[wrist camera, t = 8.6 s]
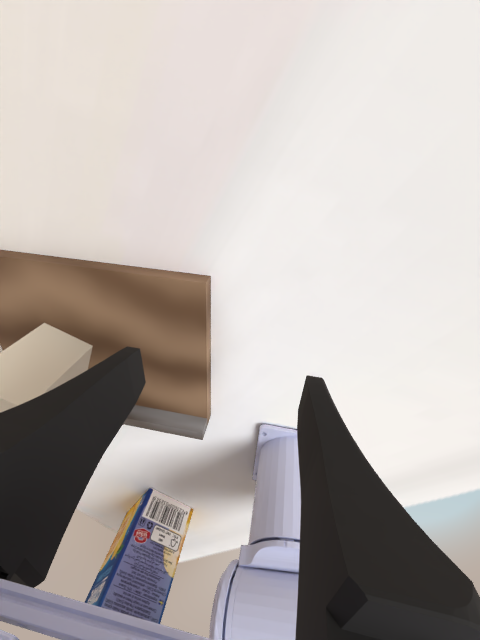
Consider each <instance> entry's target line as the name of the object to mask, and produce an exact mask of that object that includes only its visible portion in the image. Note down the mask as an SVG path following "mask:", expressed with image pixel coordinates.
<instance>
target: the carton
mask: <svg viewBox="0 0 480 640" xmlns="http://www.w3.org/2000/svg"><path fill="white" fill-rule="evenodd" d="M92 347H93V346H92V345H90V344H88V343H86V342H84V341H82V340H79V339H77V338H75V337H73V336H71V335H69V334H67V333H65V332H63V331H61V330H59V329H56V328H54V327H52V326H50V325H48V324H46V323H43V324H42V325H40V326H39V327H37V328H36V329H34V330H33V331H31V332H30V333H29V334H27V335H26V336H24V337H23V338H21V339H20V340H18V341H17V342H15V343H14V344H12V345H11V346H9V347H8V348H6V349H5V350H4V351H2V352H1V353H0V413H1V412H3V411H6V410H8V409H11V408H13V407H16V406H18V405H20V404H23V403H25V402H27V401H29V400H32V399H34V398H36V397H38V396H40V395H42V394H44V393H46V392H48V391H50V390H52V389H54V388H56V387H58V386H60V385H62V384H63V383H65V382H67V381H69V380H71V379H72V378H74V377H76V376H78V375H80V374H81V373H83V372H85V371H87V370H88V366H89V361H90V357H91V352H92Z"/></svg>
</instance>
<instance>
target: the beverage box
mask: <svg viewBox="0 0 480 640" xmlns="http://www.w3.org/2000/svg"><path fill="white" fill-rule="evenodd" d="M192 512H193V508H191V507H189V506H187V505H185V504H183V503H181V502H179V501H177V500H175V499H173V498H171V497H168V496H166V495H164V494H162V493H160V492H158V491H156V490H154V489H152V488H149V489H148V490H147V492H146V493H145V494H144V495H143V496H142V497H141V498H140V499H139V500H138V501H137V502H136V504H135V505H134V506H133V507H132V508H131V509H130V510H129V511H128V512H127V514H126V516H125V518H124V520H123V522H122V524H121V526H120V529H119V531H118V533H117V535H116V537H115V539H114V541H113V543H112V546H111V548H110V550H109V552H108V554H107V556H106V558H105V560H104V563H103V565H102V567H101V569H100V571H99V573H98V575H97V577H96V579H95V582H94V584H93V586H92V588H91V590H90V592H89V594H88V596H87V598H86V601H85V603H88V604H91V605H95V606H98V607H101V608H105V609H108V610H112V611H115V612H119V613H122V614H126V615H129V616H133V617H136V618H140V619H143V620H147V621H150V622H154V623H157V624H160V622H161V618H162V615H163V612H164V608H165V605H166V601H167V598H168V594H169V591H170V588H171V584H172V581H173V577H174V574H175V571H176V567H177V564H178V560H179V557H180V553H181V550H182V547H183V543H184V540H185V536H186V533H187V530H188V526H189V523H190V519H191V516H192Z"/></svg>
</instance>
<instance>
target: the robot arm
mask: <svg viewBox="0 0 480 640" xmlns="http://www.w3.org/2000/svg"><path fill="white" fill-rule="evenodd" d="M145 383H146V381H145V375H144V369H143V363H142V357H141V351H140V348H134V347H128V346H127V347H125V348H123V349H121V350H120V351H118V352H116V353H115V354H113V355H111V356H110V357H108V358H106V359H105V360H103V361H102V362H100V363H98V364H97V365H95V366H93V367H92V368H90V369H88V370H87V371H85V372H83V373H81V374H80V375H78V376H76V377H74V378H72V379H71V380H69V381H67V382H65V383H63V384H62V385H60V386H58V387H56V388H54V389H52V390H50V391H48V392H46V393H44V394H42V395H40V396H38V397H36V398H34V399H32V400H29V401H27V402H25V403H23V404H20V405H18V406H16V407H13V408H11V409H8V410H6V411H3V412H1V413H0V621H3V622H6V623H9V624H12V625H16V626H19V627H22V628H26V629H29V630H32V631H35V632H38V633H42V634H45V635H48V636H51V637H55V638H58V639H61V640H480V597H479V595H478V593H477V591H476V589H475V587H474V585H473V583H472V581H470V579H469V578H468V577H467V576H466V575H465V574H464V573H463V572H462V571H461V570H460V569H459V568H458V567H457V566H456V565H455V564H454V563H453V562H452V561H451V560H450V559H449V558H448V557H447V556H446V555H445V554H444V553H443V552H442V551H441V550H440V549H439V548H438V547H437V545H436V544H435V543H434V542H433V541H432V540H431V539H430V538H429V537H428V536H427V535H426V534H425V532H424V531H423V530H422V529H421V528H420V527H419V526H418V525H417V523H416V522H415V521H414V520H413V519H412V518H411V516H410V515H409V514H408V513H407V512H406V510H405V509H404V508H403V507H402V505H401V504H400V503H399V502H398V501H397V499H396V498H395V497H394V496H393V495H392V493H391V492H390V491H389V490H388V488H387V487H386V486H385V484H384V483H383V482H382V480H381V479H380V478H379V476H378V475H377V474H376V472H375V471H374V469H373V468H372V467H371V465H370V464H369V462H368V461H367V459H366V458H365V456H364V455H363V453H362V452H361V450H360V449H359V447H358V446H357V444H356V442H355V441H354V439H353V437H352V436H351V434H350V432H349V431H348V429H347V427H346V425H345V423H344V422H343V420H342V418H341V416H340V414H339V412H338V410H337V408H336V406H335V404H334V402H333V400H332V398H331V396H330V394H329V391H328V389H327V387H326V384H325V382H324V380H323V379H322V378H319V377H313V376H306V380H305V384H304V388H303V392H302V397H301V401H300V405H299V409H298V425H297V430H293V429H288V428H282V427H277V426H272V425H266V424H263V425H261V426H260V429H259V436H258V443H257V450H256V457H255V463H254V470H253V477H252V478H253V480H255V481H256V489H255V497H254V505H253V512H252V520H251V528H250V536H249V544H248V545H241V550H240V557H239V560H237V559H236V560H233V561H232V562H231V563H230V564H229V565H228V567H227V569H226V570H225V571H224V573H223V574H222V576H221V578H220V581H219V583H218V586H217V590H216V594H215V598H214V603H213V608H212V615H211V623H210V638H206V637H202V636H199V635H196V634H192V633H189V632H185V631H182V630H178V629H175V628H171V627H168V626H164V625H161V624H157V623H154V622H150V621H147V620H143V619H140V618H136V617H133V616H129V615H126V614H122V613H119V612H115V611H112V610H108V609H105V608H101V607H98V606H95V605H91V604H88V603H84V602H80V601H77V600H74V599H70V598H67V597H63V596H60V595H56V594H53V593H49V592H45V591H42V590H39V589H35V588H34V587H36V586H37V585H39V584H40V583H41V582H43V581H44V580H45V578H46V575H47V573H48V570H49V568H50V566H51V563H52V561H53V559H54V556H55V554H56V552H57V549H58V547H59V544H60V542H61V539H62V537H63V535H64V533H65V531H66V528H67V526H68V524H69V522H70V520H71V517H72V515H73V513H74V511H75V509H76V507H77V505H78V503H79V501H80V499H81V496H82V494H83V492H84V490H85V488H86V486H87V484H88V482H89V480H90V478H91V476H92V475H93V473H94V471H95V469H96V467H97V465H98V463H99V461H100V459H101V458H102V456H103V454H104V453H105V451H106V449H107V448H108V446H109V445H110V443H111V441H112V440H113V438H114V437H115V435H116V434H117V432H118V431H119V429H120V428H121V426H122V425H123V423H124V422H125V420H126V418H127V417H128V415H129V414H130V412H131V411H132V409H133V407H134V406H135V404H136V402H137V400H138V398H139V396H140V394H141V392H142V390H143V388H144V386H145ZM0 640H19V639H18V638H17V637H16V636H15V635H13V634H10V633H7V632H5V631H3V630H0Z"/></svg>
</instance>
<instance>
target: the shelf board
mask: <svg viewBox="0 0 480 640" xmlns="http://www.w3.org/2000/svg"><path fill="white" fill-rule="evenodd" d="M43 323H46V324H48V325H50V326H52V327H54V328H56V329H59V330H61V331H63V332H65V333H67V334H69V335H71V336H73V337H75V338H77V339H79V340H82V341H84V342H86V343H88V344H90V345H92V346H93V347H92V352H91V357H90V361H89V366H88V369H90V368H92V367H93V366H95V365H97V364H98V363H100V362H102V361H103V360H105V359H106V358H108V357H110V356H111V355H113V354H115V353H116V352H118V351H120V350H121V349H123V348H125V347H127V346H128V347H134V348H140V351H141V357H142V363H143V369H144V375H145V381H146V383H145V386H144V388H143V390H142V392H141V394H140V396H139V398H138V400H137V402H136V404H135V406H134V407H133V409H132V411H131V412H130V414H129V415H128V417H127V418H126V420H125V422H124V423H123V424H125V425H130V426H135V427H140V428H145V429H150V430H155V431H160V432H165V433H170V434H175V435H180V436H185V437H190V438H195V439H200V440H203V437H204V434H205V431H206V428H207V425H208V422H209V419H210V416H211V276H206V275H198V274H190V273H182V272H174V271H166V270H158V269H150V268H142V267H134V266H125V265H117V264H109V263H101V262H93V261H85V260H77V259H69V258H61V257H53V256H45V255H37V254H29V253H21V252H13V251H5V250H0V345H1V347H2V349H3V351H4V350H5V349H6V348H8V347H9V346H11V345H12V344H14V343H15V342H17V341H18V340H20V339H21V338H23V337H24V336H26V335H27V334H29V333H30V332H31V331H33V330H34V329H36V328H37V327H39V326H40V325H42V324H43Z"/></svg>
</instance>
